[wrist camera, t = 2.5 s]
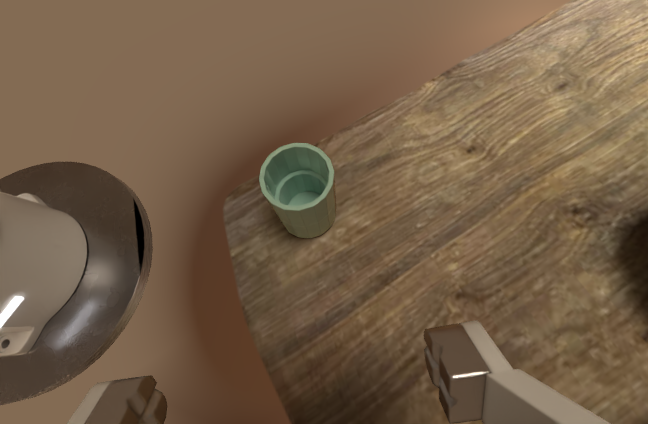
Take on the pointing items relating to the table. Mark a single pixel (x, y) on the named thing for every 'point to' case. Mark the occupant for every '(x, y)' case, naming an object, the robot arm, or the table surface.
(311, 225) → the sage green tumbler
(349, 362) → the table surface
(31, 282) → the robot arm
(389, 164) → the table surface
